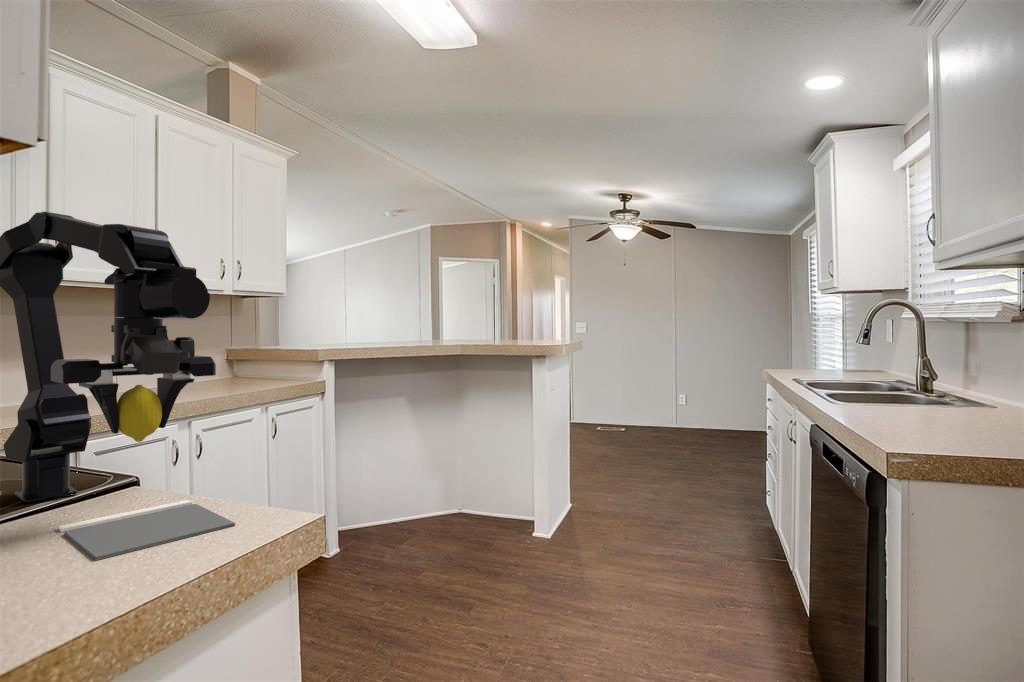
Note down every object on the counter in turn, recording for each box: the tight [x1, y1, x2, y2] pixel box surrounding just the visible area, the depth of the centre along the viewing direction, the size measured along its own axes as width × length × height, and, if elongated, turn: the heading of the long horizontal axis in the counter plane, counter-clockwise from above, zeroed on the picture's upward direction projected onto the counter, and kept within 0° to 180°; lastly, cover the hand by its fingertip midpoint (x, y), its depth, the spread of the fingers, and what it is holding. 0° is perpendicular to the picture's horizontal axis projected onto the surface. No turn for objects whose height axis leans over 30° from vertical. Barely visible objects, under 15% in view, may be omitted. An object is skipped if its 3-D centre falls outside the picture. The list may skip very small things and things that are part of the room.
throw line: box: [57, 499, 193, 533], centre depth 83 cm, size 2×16×1 cm, turn 141°
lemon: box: [117, 384, 162, 443], centre depth 83 cm, size 6×6×8 cm
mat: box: [63, 503, 236, 561], centre depth 78 cm, size 12×16×1 cm
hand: (139, 430), depth 83 cm, fingers closed on lemon, 5 cm apart
